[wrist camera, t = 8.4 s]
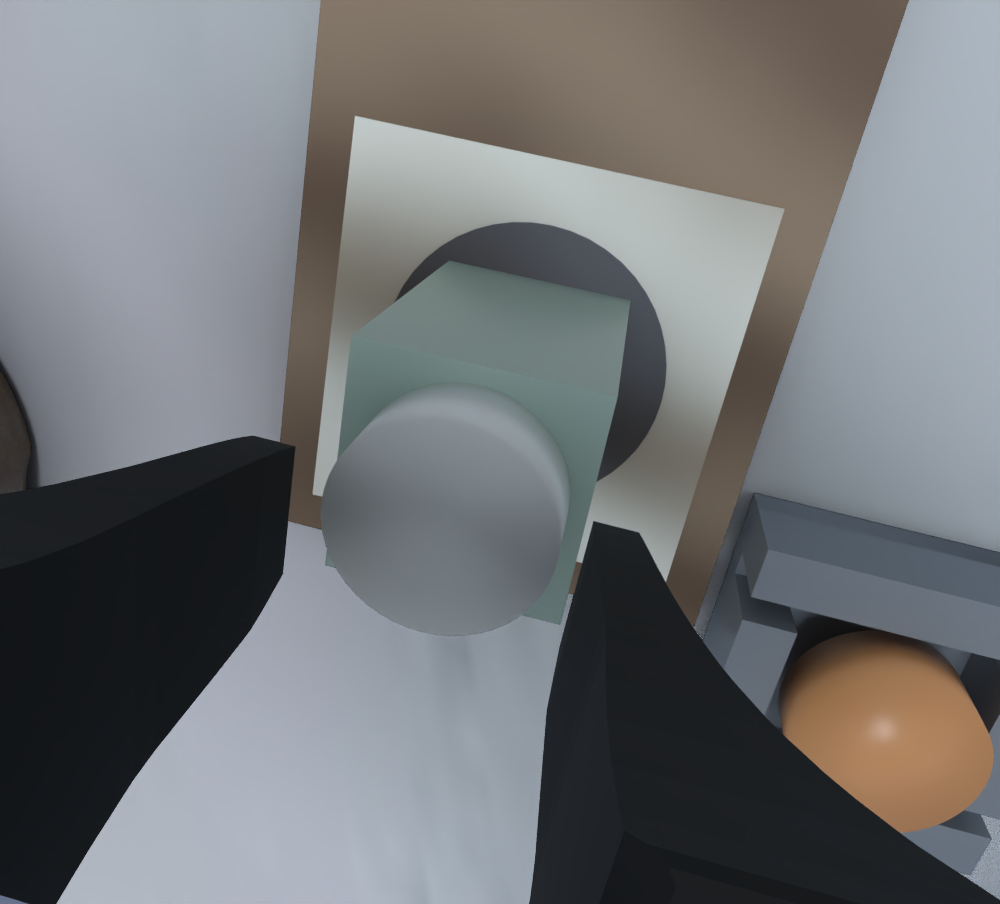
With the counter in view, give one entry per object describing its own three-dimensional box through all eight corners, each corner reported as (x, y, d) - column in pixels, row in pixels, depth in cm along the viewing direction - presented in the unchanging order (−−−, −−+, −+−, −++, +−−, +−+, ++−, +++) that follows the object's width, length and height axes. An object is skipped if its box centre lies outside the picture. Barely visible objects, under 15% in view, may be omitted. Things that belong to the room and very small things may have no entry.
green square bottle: (588, 467, 20) (549, 682, 12) (422, 428, 20) (290, 615, 13) (630, 300, 18) (612, 433, 11) (449, 260, 18) (313, 365, 11)
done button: (923, 792, 20) (947, 853, 19) (755, 747, 20) (764, 803, 19) (994, 657, 19) (1027, 711, 17) (811, 610, 19) (826, 659, 17)
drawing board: (693, 608, 22) (694, 630, 21) (285, 503, 23) (269, 520, 22) (918, -59, 16) (935, -69, 15) (351, -166, 17) (333, -181, 16)
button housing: (934, 788, 23) (969, 875, 20) (675, 718, 23) (677, 795, 21) (1053, 566, 20) (1111, 635, 17) (754, 493, 20) (768, 549, 18)
